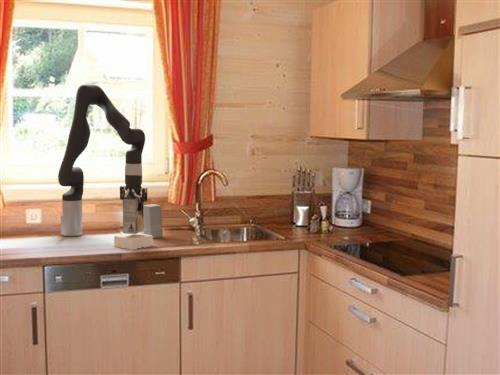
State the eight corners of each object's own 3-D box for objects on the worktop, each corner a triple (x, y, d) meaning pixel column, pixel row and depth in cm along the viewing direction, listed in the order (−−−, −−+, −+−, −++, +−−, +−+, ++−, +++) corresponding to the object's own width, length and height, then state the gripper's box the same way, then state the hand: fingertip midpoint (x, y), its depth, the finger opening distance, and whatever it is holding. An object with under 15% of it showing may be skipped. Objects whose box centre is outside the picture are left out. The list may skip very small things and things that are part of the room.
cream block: (114, 246, 260) (114, 235, 259) (134, 242, 270) (134, 232, 269) (132, 250, 253) (132, 239, 252) (152, 246, 263) (152, 235, 262)
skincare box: (163, 237, 282) (163, 205, 280) (149, 238, 278) (149, 206, 276) (155, 234, 289) (155, 203, 287) (142, 236, 285) (142, 204, 283)
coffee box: (130, 229, 266) (130, 195, 264) (143, 230, 264) (144, 195, 263) (122, 233, 257) (122, 197, 255) (135, 234, 255) (136, 198, 254)
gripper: (115, 173, 258) (115, 209, 260) (141, 175, 251) (140, 212, 253) (126, 172, 264) (126, 207, 266) (151, 174, 258) (151, 210, 260)
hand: (133, 210), depth 260 cm, fingers closed on coffee box, 7 cm apart
